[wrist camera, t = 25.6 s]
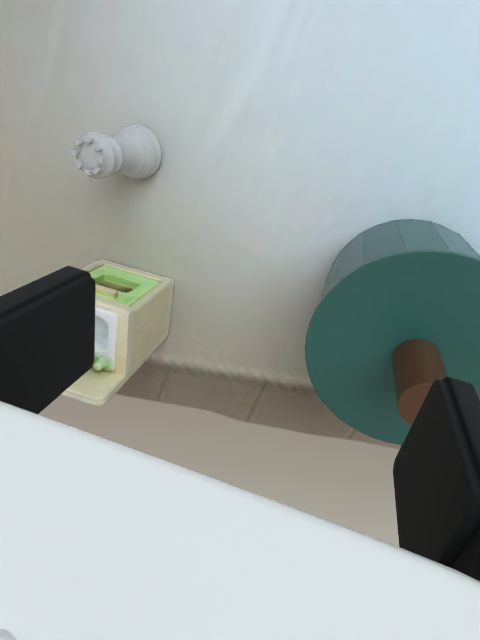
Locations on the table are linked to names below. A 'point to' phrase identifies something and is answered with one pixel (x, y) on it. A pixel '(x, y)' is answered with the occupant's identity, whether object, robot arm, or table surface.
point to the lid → (395, 337)
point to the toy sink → (123, 327)
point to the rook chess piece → (119, 153)
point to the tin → (394, 244)
